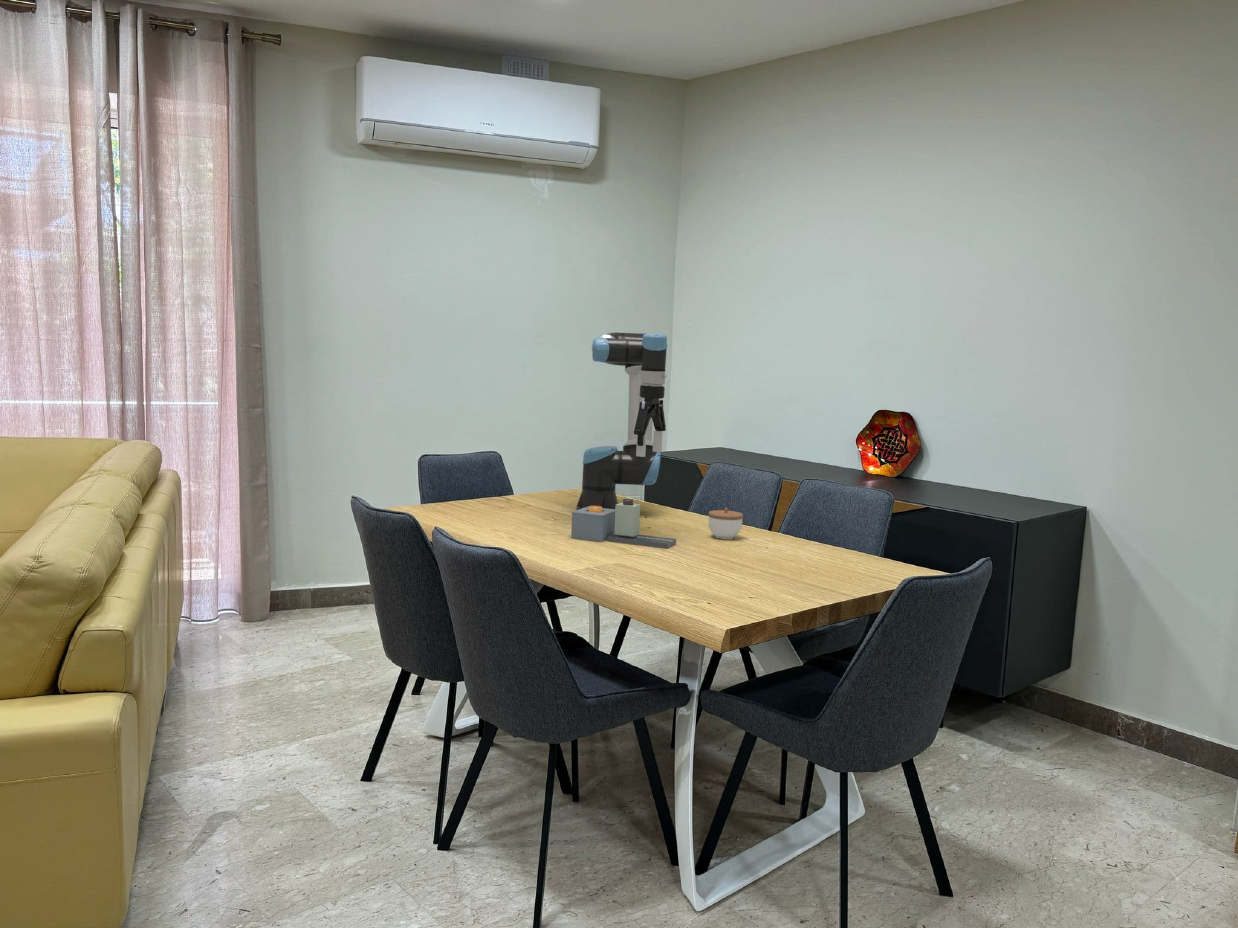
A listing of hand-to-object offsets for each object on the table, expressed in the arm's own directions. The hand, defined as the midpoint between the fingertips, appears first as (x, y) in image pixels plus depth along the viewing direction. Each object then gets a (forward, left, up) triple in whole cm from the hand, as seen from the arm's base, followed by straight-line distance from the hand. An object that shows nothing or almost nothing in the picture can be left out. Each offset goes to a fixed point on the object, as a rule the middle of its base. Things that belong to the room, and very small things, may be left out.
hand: (649, 454), depth 289 cm
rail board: (+3, -11, -25) cm, 28 cm away
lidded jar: (+22, +11, -26) cm, 36 cm away
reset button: (-13, -11, -22) cm, 28 cm away
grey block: (-13, -11, -25) cm, 30 cm away
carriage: (-2, -11, -23) cm, 26 cm away
